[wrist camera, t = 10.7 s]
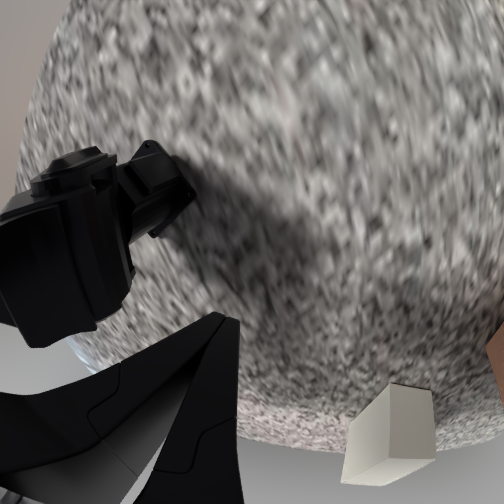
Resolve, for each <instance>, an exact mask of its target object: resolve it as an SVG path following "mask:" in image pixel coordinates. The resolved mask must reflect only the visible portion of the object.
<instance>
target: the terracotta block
mask: <svg viewBox="0 0 504 504" xmlns="http://www.w3.org/2000/svg"><path fill="white" fill-rule="evenodd" d="M485 349H486V352H487V355H488V357H489V360H490V363H491V366H492V369H493V372H494V375H495V378H496V382H497V385H498V389H499V392H500V396H501V400H502V403H503V408H504V322H503V323H502V325H501V326H500V328H499V329H498V330H497V332H496V333H495V334H494V336H493V337H492V338H491V340H490V341H489V342H488V343H487V345H486V346H485Z"/></svg>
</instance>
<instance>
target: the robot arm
mask: <svg viewBox="0 0 504 504" xmlns="http://www.w3.org/2000/svg"><path fill="white" fill-rule="evenodd" d="M148 144H149V145H150V147H149V148H148ZM116 163H117V155H116V154H113V155H108V153H104V154H103V153H101V151H100V150H99V149H98V148H97V146H93V147H88V148H84V149H81V150H77V151H74V152H71V153H68V154H66V155H63V156H61V157H59V158H57V159H55V160H53V161H52V162H51V164H50V165H49V167H48V168H47V169H46V170H45V171H43V172H42V173H40V174H39V175H38V176H36V177H35V178H34V179H32V180H31V181H30V187H31V189H30V190H27V191H24V192H22V193H19V194H17V195H15V196H13V197H12V198H11V199H10V200H9V202H8V203H7V204H6V205H5V207H4V208H3V209H2V211H1V212H0V323H2V324H6V325H9V326H13V327H16V328H18V329H19V331H20V333H21V334H22V336H23V338H24V340H25V341H26V343H27V345H28V346H29V347H31V348H45V347H48V346H50V345H51V344H53V343H55V342H57V341H59V340H61V339H63V338H65V337H67V336H70V335H74V334H77V333H81V332H90V331H96V330H97V325H96V323H98V322H101V321H103V320H105V319H107V318H108V317H110V316H112V315H113V314H115V313H116V312H117V311H119V310H120V309H121V307H122V306H123V304H122V301H123V300H124V298H125V297H126V296H127V294H128V293H129V291H130V288H131V285H132V279H133V278H134V276H135V274H136V271H135V267H134V266H133V264H132V260H131V255H130V250H129V245H130V244H131V243H133V242H134V241H136V240H137V239H139V238H140V237H141V236H143V235H144V234H146V233H148V234H149V236H150V237H152V238H156V237H157V236H159V235H160V234H161V233H162V232H163V231H164V230H165V229H166V227H167V226H168V225H169V224H170V223H171V222H172V221H173V220H174V219H175V218H176V217H177V216H178V215H180V214H181V213H182V212H183V211H184V210H185V209H186V208H187V207H188V206H189V205H190V204H191V203H192V202H193V201H194V200H195V199H196V196H197V195H196V192H195V191H194V189H193V188H192V187H191V186H190V185H189V183H188V182H187V181H186V180H185V179H184V177H183V176H182V173H181V172H180V171H179V170H178V168H177V167H176V166H175V165H174V164H173V162H172V161H171V160H170V159H169V158H168V156H167V155H166V154H165V153H164V152H162V151H161V150H160V148H159V147H158V146H157V145H156V144H155V142H154V141H153V140H146V141H144V142H143V144H142V145H141V146H140V148H139V149H138V150H137V152H136V153H135V155H134V156H133V157H132V159H131V160H130V161H129V162H127V163H124V164H120V165H117V166H116ZM188 193H190V194H191V198H190V197H189V196H188ZM153 231H154V232H155V234H154V233H153ZM239 342H240V321H239V320H237V319H234V318H232V317H226V315H224V314H221V313H218V312H215V311H214V312H211V313H210V314H208V315H206V316H204V317H202V318H201V319H199V320H197V321H195V322H193V323H192V324H190V325H188V326H186V327H184V328H183V329H181V330H179V331H177V332H175V333H173V334H172V335H170V336H168V337H166V338H164V339H162V340H161V341H159V342H157V343H155V344H153V345H151V346H149V347H147V348H146V349H144V350H142V351H140V352H138V353H136V354H134V355H132V356H130V357H128V358H126V359H125V360H123V361H121V364H120V363H117V364H115V365H113V366H111V367H109V368H107V369H105V370H102V371H100V372H98V373H96V374H94V375H92V376H89V377H86V378H84V379H81V380H79V381H76V382H73V383H70V384H67V385H64V386H61V387H58V388H55V389H52V390H49V391H46V392H42V393H39V394H33V395H17V394H10V393H4V392H0V504H120V502H121V501H122V500H123V499H124V497H125V496H126V494H127V493H128V492H129V490H130V489H131V487H132V486H133V484H134V483H135V482H136V480H137V479H138V477H139V476H140V474H141V473H142V472H143V470H144V469H145V467H146V466H147V464H148V463H149V462H150V460H151V459H152V457H153V456H154V454H155V453H156V451H157V450H158V448H159V447H160V445H161V444H162V442H163V441H164V439H165V438H166V437H167V438H166V440H165V443H164V445H163V447H162V449H161V452H160V454H159V456H158V458H157V461H156V463H155V466H154V468H153V471H152V472H151V475H150V477H149V479H148V481H147V483H146V485H145V487H144V488H143V490H142V491H141V493H140V494H139V495H138V497H137V498H136V500H135V501H134V502H133V504H244V499H243V491H242V485H241V479H240V472H239V464H238V454H237V418H236V417H237V399H238V369H239Z"/></svg>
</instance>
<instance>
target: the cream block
mask: <svg viewBox="0 0 504 504" xmlns="http://www.w3.org/2000/svg"><path fill="white" fill-rule="evenodd" d="M434 460H436V436H435V422H434V411H433V402H432V394H431V391H429V390H423V389H417V388H412V387H406V386H401V385H396V384H391V383H389V384H388V385H387V387H386V388H385V389H384V390H383V391H382V392H381V393H380V394H379V395H378V396H377V397H376V398H375V399H374V400H373V401H372V402H371V403H370V404H369V405H368V406H367V407H366V408H365V409H364V410H363V411H362V412H361V413H360V414H359V415H358V416H357V417H356V418H355V419H354V420H353V421H352V422H350V426H349V434H348V441H347V448H346V455H345V461H344V467H343V472H342V478H341V483H347V484H357V485H371V486H384V485H386V484H389V483H391V482H393V481H396V480H397V479H400V478H402V477H404V476H406V475H408V474H410V473H412V472H414V471H416V470H418V469H419V468H422V467H423V466H425V465H427V464H429V463H431V462H432V461H434Z"/></svg>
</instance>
